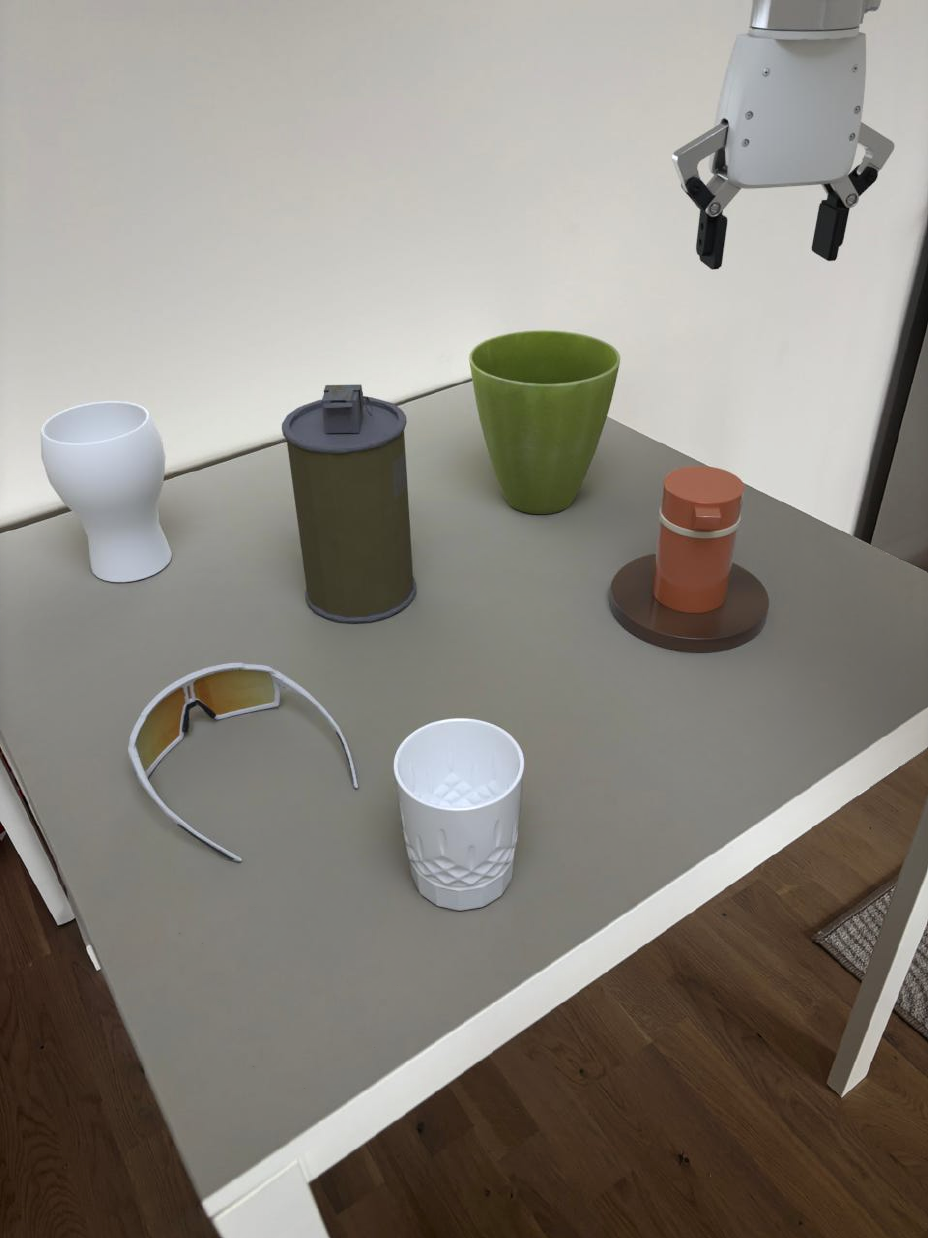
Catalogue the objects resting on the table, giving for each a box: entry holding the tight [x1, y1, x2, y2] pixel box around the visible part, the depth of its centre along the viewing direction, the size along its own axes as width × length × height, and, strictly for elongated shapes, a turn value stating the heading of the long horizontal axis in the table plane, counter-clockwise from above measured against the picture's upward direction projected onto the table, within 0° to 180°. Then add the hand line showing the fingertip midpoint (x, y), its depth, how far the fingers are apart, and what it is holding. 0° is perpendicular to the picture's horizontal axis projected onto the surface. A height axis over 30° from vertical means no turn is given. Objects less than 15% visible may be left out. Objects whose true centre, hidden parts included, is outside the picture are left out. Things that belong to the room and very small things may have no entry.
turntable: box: [609, 553, 770, 654], centre depth 88 cm, size 14×14×2 cm
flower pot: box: [468, 329, 621, 515], centre depth 101 cm, size 15×15×16 cm
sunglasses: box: [127, 662, 359, 863], centre depth 71 cm, size 14×15×5 cm
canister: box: [281, 384, 417, 624], centre depth 86 cm, size 11×10×20 cm
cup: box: [40, 400, 173, 583], centre depth 92 cm, size 11×11×15 cm
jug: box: [652, 465, 745, 613], centre depth 84 cm, size 10×7×11 cm, turn 174°
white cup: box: [393, 717, 525, 912], centre depth 61 cm, size 8×8×10 cm
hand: (766, 260), depth 78 cm, fingers open, 9 cm apart
